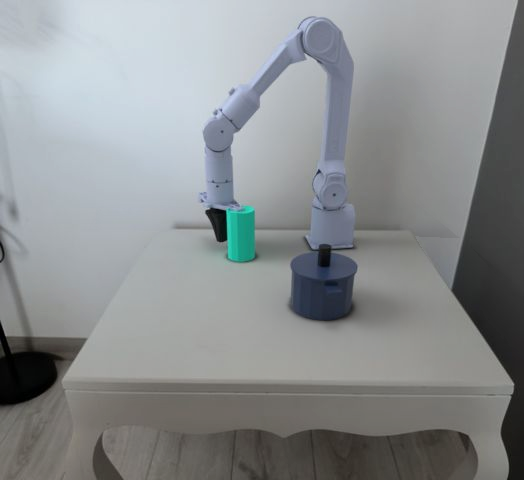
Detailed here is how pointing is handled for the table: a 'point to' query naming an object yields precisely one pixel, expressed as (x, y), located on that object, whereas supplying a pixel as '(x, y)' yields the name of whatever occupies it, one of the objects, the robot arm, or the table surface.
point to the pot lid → (323, 265)
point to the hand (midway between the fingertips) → (222, 240)
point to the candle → (241, 234)
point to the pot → (321, 298)
